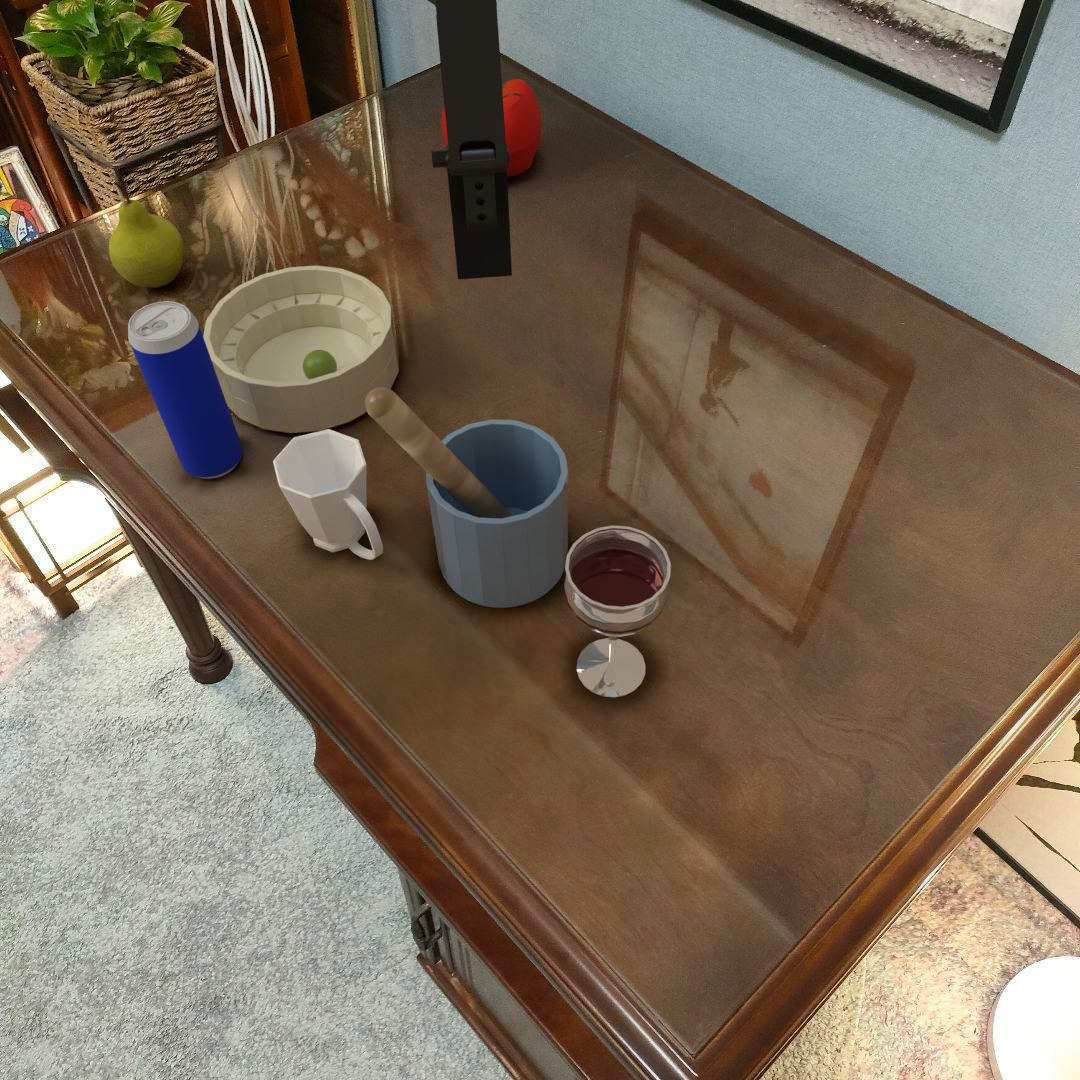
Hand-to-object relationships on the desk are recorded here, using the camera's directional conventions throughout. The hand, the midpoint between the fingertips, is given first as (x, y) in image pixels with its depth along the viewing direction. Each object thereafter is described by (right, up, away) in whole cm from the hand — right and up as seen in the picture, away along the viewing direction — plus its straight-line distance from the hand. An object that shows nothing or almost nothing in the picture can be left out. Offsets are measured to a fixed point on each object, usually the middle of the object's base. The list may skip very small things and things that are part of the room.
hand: (476, 197), depth 55 cm
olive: (-16, -3, +36) cm, 39 cm away
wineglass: (+9, -28, +18) cm, 34 cm away
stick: (+2, -19, +24) cm, 31 cm away
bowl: (-18, -3, +38) cm, 42 cm away
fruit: (-35, +8, +48) cm, 60 cm away
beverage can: (-24, -12, +32) cm, 42 cm away
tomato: (-2, +24, +60) cm, 65 cm away
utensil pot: (+1, -20, +25) cm, 32 cm away
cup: (-12, -19, +26) cm, 34 cm away
